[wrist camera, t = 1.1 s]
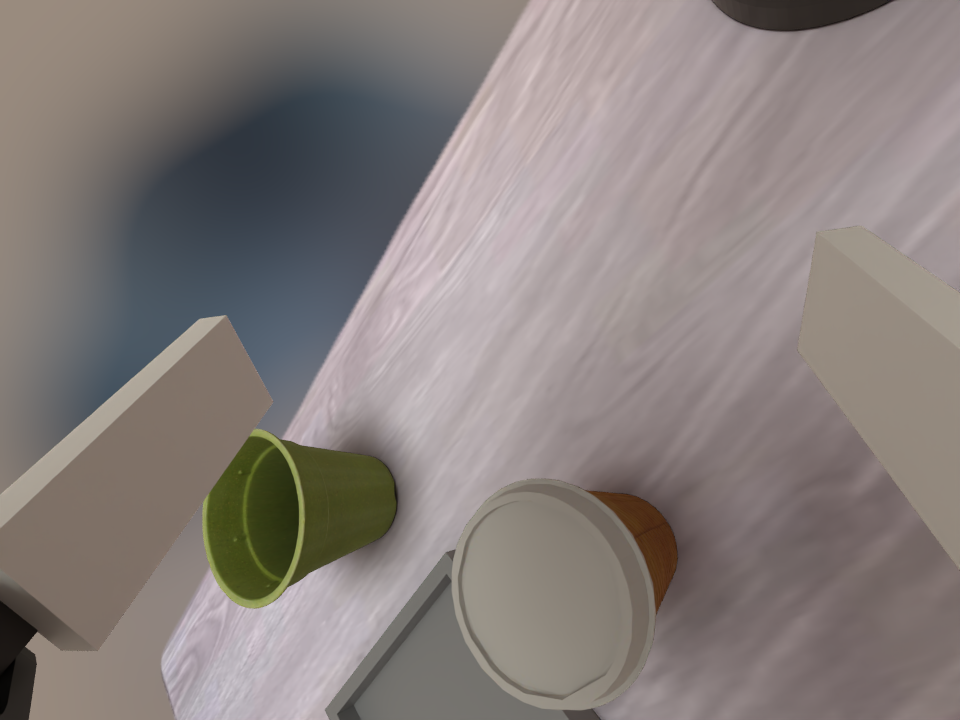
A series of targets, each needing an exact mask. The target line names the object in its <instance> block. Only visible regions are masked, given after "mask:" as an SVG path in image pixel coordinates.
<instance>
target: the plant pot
mask: <svg viewBox="0 0 960 720" xmlns="http://www.w3.org/2000/svg"><path fill="white" fill-rule="evenodd" d="M396 504H397V503H396V500H395V494H394V480H393V478H392V476H391V474H390V472H389V470H388V469H387V467H386V466H385V465H384V464H383V463H382V462H381V461H379V460H378V459H376V458H374V457H371V456H366V455H360V454H354V453H347V452H340V451H334V450H327V449H321V448H314V447H308V446H301V445H298V444H296V443H294V442H291V441H286V440H280V439H279V438H277V437H276V436H275V435H273V434H271V433H270V432H267V431H265V430H261V429H254V430H253V432H252V433H251V434H250V436H249V437H248V439H247V440H246V441H245V443H244V444H243V446H242V447H241V449H240V450H239V451H238V453H237V454H236V456H235V457H234V458H233V460H232V461H231V463H230V464H229V466H228V467H227V468H226V470H225V471H224V473H223V474H222V476H221V477H220V478H219V480H218V481H217V483H216V484H215V485H214V487H213V488H212V490H211V491H210V493H209V494H208V495H207V497H206V498H205V500H204V502H203V538H204V545H205V550H206V554H207V559H208V561H209V564H210V567H211V571H212V573H213V575H214V577H215V579H216V581H217V583H218V585H219V586H220V588H221V589H222V590H223V591H224V592H225V593H226V595H227V596H228V597H229V598H230V599H231V600H232V601H234V602H235V603H237V604H238V605H241V606H243V607H246V608H254V609H255V608H261V607H264V606H267V605H269V604H270V603H272V602H274V601H275V600H276V599H278V598H279V597H280V596H281V595H282V593H283V592H284V591H285V590H286V589H287V587H289V586H291V585H293V584H295V583H296V582H298V581H300V580H301V579H303V578H304V577H305V576H306V575H307V574H308V573H310V572H312V571H314V570H316V569H318V568H320V567H322V566H324V565H326V564H329V563H331V562H333V561H335V560H337V559H339V558H341V557H343V556H345V555H347V554H349V553H351V552H353V551H355V550H357V549H359V548H361V547H363V546H365V545H367V544H369V543H371V542H373V541H375V540H377V539H379V538H380V537H382V536H383V535H384V534H385V533H386V532H387V530H388V529H389V528H390V526H391V524H392V522H393V519H394V516H395V512H396Z"/></svg>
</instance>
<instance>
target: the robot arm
mask: <svg viewBox="0 0 960 720" xmlns="http://www.w3.org/2000/svg"><path fill="white" fill-rule="evenodd" d="M712 1H713V2H714V3H715V4H716V5H717V7H719V8H720V9H721V10H722V11H723V12H724V13H726V14H727V15H728V16H730V17H732V18H734V19H735V20H737V21H740V22H742V23H745V24H748V25H751V26H755V27H759V28H765V29H775V30H793V29H804V28H812V27H817V26H822V25H826V24H830V23H835V22H838V21H841V20H845V19H848V18H851V17H853V16H856V15H859V14H862V13H864V12H866V11H869V10H871V9H874V8H876V7H878V6H880V5H882V4H884V3H886V2H888V1H890V0H712ZM797 350H798V352H799V353H800V355H801V356H802V357H803V359H804V360H805V361H806V363H807V364H808V365H809V367H810V368H811V369H812V371H813V372H814V374H815V375H816V376H817V378H818V379H819V380H820V382H821V383H822V384H823V386H824V387H825V388H826V390H827V391H828V393H829V394H830V395H831V397H832V398H833V399H834V401H835V402H836V403H837V405H838V406H839V407H840V409H841V410H842V411H843V413H844V414H845V416H846V417H847V418H848V420H849V421H850V422H851V424H852V425H853V426H854V428H855V429H856V430H857V432H858V433H859V435H860V436H861V437H862V439H863V440H864V441H865V443H866V444H867V445H868V447H869V448H870V449H871V451H872V452H873V454H874V455H875V456H876V458H877V459H878V460H879V462H880V463H881V464H882V466H883V467H884V468H885V470H886V471H887V472H888V474H889V475H890V477H891V478H892V479H893V481H894V482H895V483H896V485H897V486H898V487H899V489H900V490H901V491H902V493H903V494H904V496H905V497H906V498H907V500H908V501H909V502H910V504H911V505H912V506H913V508H914V509H915V510H916V512H917V513H918V515H919V516H920V517H921V519H922V520H923V521H924V523H925V524H926V525H927V527H928V528H929V529H930V531H931V532H932V534H933V535H934V536H935V538H936V539H937V540H938V542H939V543H940V544H941V546H942V547H943V548H944V550H945V551H946V552H947V554H948V555H949V557H950V558H951V559H952V561H953V562H954V563H955V565H956V566H957V567H958V569H959V570H960V293H959V292H958V291H956V290H955V289H953V288H952V287H950V286H949V285H947V284H946V283H945V282H943V281H942V280H940V279H939V278H937V277H936V276H934V275H933V274H931V273H930V272H928V271H927V270H925V269H924V268H923V267H921V266H920V265H918V264H917V263H915V262H914V261H912V260H911V259H909V258H908V257H906V256H905V255H903V254H902V253H901V252H899V251H898V250H896V249H895V248H893V247H892V246H890V245H889V244H887V243H886V242H884V241H883V240H881V239H880V238H879V237H877V236H876V235H874V234H873V233H871V232H870V231H868V230H867V229H865V228H864V227H862V226H856V227H849V228H842V229H834V230H827V231H820V232H817V233H816V239H815V245H814V251H813V257H812V264H811V270H810V276H809V282H808V288H807V294H806V300H805V306H804V312H803V318H802V324H801V330H800V336H799V342H798V348H797ZM272 403H273V401H272V398H271V397H270V395H269V393H268V391H267V389H266V387H265V386H264V384H263V382H262V380H261V378H260V376H259V375H258V373H257V371H256V369H255V367H254V365H253V363H252V362H251V360H250V358H249V356H248V354H247V352H246V351H245V349H244V347H243V345H242V343H241V341H240V340H239V338H238V336H237V334H236V332H235V330H234V328H233V327H232V325H231V323H230V321H229V319H228V317H227V316H226V315H225V316H218V317H211V318H204V319H199V320H198V321H197V322H196V323H195V324H193V325H192V326H191V327H190V328H189V329H188V330H187V331H186V332H184V333H183V334H182V335H181V336H180V337H179V338H178V339H176V340H175V341H174V342H173V343H172V344H171V345H170V346H168V347H167V348H166V349H165V350H164V351H163V352H162V353H161V354H160V355H158V356H157V357H156V358H155V359H154V360H153V361H152V362H150V363H149V364H148V365H147V366H146V367H145V368H144V369H142V370H141V371H140V372H139V373H138V374H137V375H136V376H134V377H133V378H132V379H131V380H130V381H129V382H128V383H126V384H125V385H124V386H123V387H122V388H121V389H120V390H119V391H117V392H116V393H115V394H114V395H113V396H112V397H111V398H110V399H108V400H107V401H106V402H105V403H104V404H103V405H102V406H101V407H99V408H98V409H97V410H96V411H95V412H94V413H93V414H91V415H90V416H89V417H88V418H87V419H86V420H85V421H83V422H82V423H81V424H80V425H79V426H78V427H77V428H75V429H74V430H73V431H72V432H71V433H70V434H69V435H67V436H66V437H65V438H64V439H63V440H62V441H61V442H60V443H58V445H56V446H55V447H54V448H53V449H52V450H50V451H49V452H48V453H47V454H46V455H45V456H44V457H43V458H42V459H40V460H39V461H38V462H37V463H36V464H35V465H33V466H32V467H31V468H30V469H29V470H28V471H27V472H26V473H24V474H23V475H22V476H21V477H20V478H19V479H18V480H16V481H15V482H14V483H13V484H12V485H11V486H10V487H8V488H7V489H6V490H5V491H4V492H3V493H2V494H1V495H0V720H28V719H29V713H30V707H31V700H32V693H33V686H34V678H35V672H36V665H37V663H36V657H35V654H34V653H32V652H31V651H30V650H28V649H27V648H26V647H25V646H26V645H27V643H28V642H29V641H30V640H31V639H32V637H33V636H34V635H35V634H36V633H37V632H39V633H40V634H41V635H43V636H44V637H45V638H46V639H47V640H49V641H50V642H51V643H53V644H54V645H55V646H56V647H58V648H59V649H60V650H68V651H69V650H70V651H98V650H99V649H100V647H101V646H102V644H103V643H104V642H105V640H106V639H107V637H108V636H109V635H110V633H111V632H112V630H113V629H114V627H115V626H116V625H117V623H118V622H119V620H120V619H121V617H122V616H123V615H124V613H125V612H126V610H127V609H128V608H129V606H130V605H131V603H132V602H133V600H134V599H135V598H136V596H137V595H138V593H139V592H140V591H141V589H142V588H143V586H144V585H145V583H146V582H147V581H148V579H149V578H150V576H151V575H152V573H153V572H154V571H155V569H156V568H157V566H158V565H159V564H160V562H161V561H162V559H163V558H164V556H165V555H166V554H167V552H168V551H169V549H170V548H171V546H172V545H173V544H174V542H175V540H176V539H177V538H178V537H179V535H180V534H181V532H182V531H183V529H184V528H185V527H186V525H187V524H188V522H189V521H190V520H191V518H192V517H193V515H194V514H195V512H196V511H197V509H198V508H199V506H200V505H201V504H202V502H203V501H204V500H205V498H206V497H207V495H208V494H209V493H210V491H211V490H212V488H213V487H214V485H215V484H216V483H217V481H218V480H219V478H220V477H221V476H222V474H223V473H224V471H225V470H226V468H227V467H228V466H229V464H230V463H231V461H232V460H233V458H234V457H235V456H236V454H237V453H238V451H239V450H240V449H241V447H242V446H243V444H244V443H245V441H246V440H247V439H248V437H249V436H250V434H251V433H252V432H253V430H254V429H255V427H256V426H257V424H258V423H259V422H260V420H261V419H262V417H263V416H264V414H265V413H266V411H267V410H268V409H269V407H270V406H271V405H272Z"/></svg>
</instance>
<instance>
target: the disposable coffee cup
mask: <svg viewBox="0 0 960 720" xmlns="http://www.w3.org/2000/svg"><path fill="white" fill-rule="evenodd" d="M677 559H678V558H677V545H676V541H675V537H674V534H673V532H672V530H671V528H670V526H669V524H668V523H667V521H666V520H665V519H664V517H663V516H662V514H661V513H660V512H659V511H658V510H657V509H656V508H655V507H653V506H652V505H651V504H649V503H648V502H646V501H644V500H642V499H640V498H638V497H636V496H632V495H628V494H617V493H608V492H598V491H587V490H583V489H581V488H580V487H577V486H574V485H571V484H568V483H565V482H562V481H559V480H553V479H527V480H522V481H518V482H515V483H512V484H509V485H508V486H506V487H504V488H502V489H500V490H498V491H497V492H496V493H494V494H493V495H492V496H491V497H489V498H488V499H487V500H486V501H485V502H484V503H483V505H482V506H481V507H480V508H479V509H478V510H477V512H476V513H475V515H474V516H473V517H472V518H471V520H470V521H469V522H468V524H467V525H466V526H465V529H464V531H463V533H462V535H461V537H460V539H459V541H458V544H457V547H456V551H455V555H454V558H453V566H452V596H453V602H454V608H455V614H456V618H457V620H458V623H459V626H460V629H461V631H462V634H463V637H464V640H465V642H466V644H467V645H468V647H469V649H470V650H471V652H472V653H473V655H474V657H475V658H476V660H477V662H478V663H479V665H480V666H481V668H482V669H483V670H484V671H485V672H486V673H487V674H488V675H489V676H490V677H491V678H492V679H493V680H494V681H495V682H496V683H497V684H498V685H499V686H500V687H501V688H502V689H503V690H504V691H506V692H507V693H509V694H511V695H512V696H514V697H516V698H517V699H519V700H521V701H522V702H524V703H527V704H530V705H533V706H535V707H538V708H541V709H551V710H586V709H591V708H595V707H599V706H602V705H604V704H606V703H608V702H610V701H613V700H614V699H615V698H617V697H618V696H619V695H621V694H622V693H623V692H624V691H626V690H627V689H628V688H629V687H630V686H631V685H632V683H633V682H634V681H635V680H636V679H637V677H638V676H639V674H640V672H641V670H642V669H643V667H644V665H645V663H646V660H647V657H648V654H649V652H650V649H651V646H652V643H653V639H654V631H655V622H656V614H657V611H658V609H659V607H660V605H661V602H662V601H663V598H664V595H665V593H666V591H667V589H668V586H669V584H670V582H671V580H672V578H673V575H674V573H675V570H676V565H677Z"/></svg>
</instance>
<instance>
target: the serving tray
mask: <svg viewBox="0 0 960 720" xmlns="http://www.w3.org/2000/svg"><path fill="white" fill-rule="evenodd" d="M455 551H456V550H452V551H449V552H446V553H445V554H444V556H443V557H442V558H441V559H440V561H439V562H438V563H437V565H436V566H435V567H434V569H433V570H432V571H431V572H430V574H429V575H428V576H427V578H426V579H425V580H424V582H423V583H422V584H421V586H420V587H419V588H418V589H417V591H416V592H415V593H414V595H413V596H412V597H411V599H410V600H409V601H408V602H407V604H406V605H405V606H404V608H403V609H402V610H401V612H400V613H399V614H398V615H397V617H396V618H395V619H394V621H393V622H392V623H391V625H390V626H389V627H388V628H387V630H386V631H385V632H384V634H383V635H382V636H381V638H380V639H379V640H378V641H377V643H376V644H375V645H374V647H373V648H372V649H371V651H370V652H369V653H368V655H367V656H366V657H365V658H364V660H363V661H362V662H361V664H360V665H359V666H358V668H357V669H356V670H355V671H354V673H353V674H352V675H351V677H350V678H349V679H348V681H347V682H346V683H345V684H344V686H343V687H342V688H341V690H340V691H339V692H338V694H337V695H336V696H335V697H334V699H333V700H332V701H331V703H330V704H329V705H328V707H327V708H326V709H325V711H326V713H327V716H328V718H329V720H600V719H599V718H598V716H597V715H596V714H595V712H594V711H593V710H592V708H591V709H586V710H551V709H541V708H538V707H535V706H533V705H530V704H527V703H524V702H522V701H521V700H519V699H517V698H516V697H514V696H512V695H511V694H509V693H507V692H506V691H504V690H503V689H502V688H501V687H500V686H499V685H498V684H497V683H496V682H495V681H494V680H493V679H492V678H491V677H490V676H489V675H488V674H487V673H486V672H485V671H484V670H483V669H482V668H481V666H480V665H479V663H478V662H477V660H476V658H475V657H474V655H473V653H472V652H471V650H470V649H469V647H468V645H467V644H466V642H465V640H464V637H463V634H462V631H461V629H460V626H459V623H458V620H457V618H456V614H455V608H454V602H453V596H452V566H453V558H454V555H455Z"/></svg>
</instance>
